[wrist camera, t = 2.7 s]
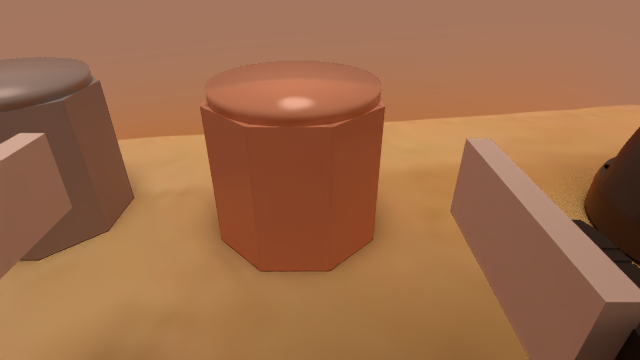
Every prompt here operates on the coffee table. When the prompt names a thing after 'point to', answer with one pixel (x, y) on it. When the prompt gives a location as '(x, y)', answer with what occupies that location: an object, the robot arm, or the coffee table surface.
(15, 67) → the brown octagonal jar
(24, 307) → the coffee table surface
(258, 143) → the octagonal lidded canister
